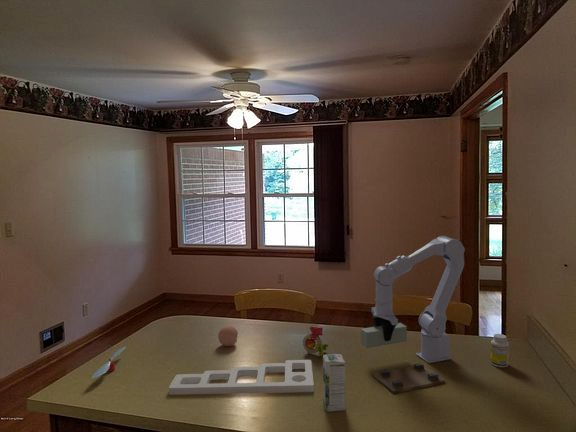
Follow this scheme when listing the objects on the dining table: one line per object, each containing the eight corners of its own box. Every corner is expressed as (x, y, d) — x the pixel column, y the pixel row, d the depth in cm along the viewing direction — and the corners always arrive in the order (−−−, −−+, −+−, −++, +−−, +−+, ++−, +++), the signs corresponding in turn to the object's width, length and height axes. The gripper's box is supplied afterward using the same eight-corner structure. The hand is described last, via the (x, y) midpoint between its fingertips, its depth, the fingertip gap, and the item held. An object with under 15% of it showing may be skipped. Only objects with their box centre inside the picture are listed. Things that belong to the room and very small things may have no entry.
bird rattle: (307, 362, 155) (329, 355, 152) (295, 335, 155) (316, 327, 153) (310, 355, 161) (332, 348, 158) (299, 329, 161) (320, 321, 159)
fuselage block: (400, 337, 154) (400, 322, 153) (406, 341, 150) (406, 326, 150) (361, 343, 149) (361, 328, 149) (366, 348, 145) (366, 332, 145)
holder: (168, 396, 130) (168, 388, 130) (183, 369, 148) (183, 362, 148) (313, 393, 130) (313, 385, 130) (311, 367, 148) (311, 359, 148)
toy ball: (242, 344, 168) (241, 325, 168) (229, 351, 162) (229, 331, 161) (227, 340, 173) (226, 321, 172) (214, 347, 166) (213, 327, 165)
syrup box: (322, 401, 124) (321, 354, 123) (342, 400, 125) (341, 353, 123) (325, 412, 118) (325, 362, 117) (346, 410, 119) (345, 361, 118)
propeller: (131, 355, 160) (130, 344, 160) (98, 388, 136) (97, 376, 135) (120, 355, 161) (120, 344, 160) (85, 388, 136) (84, 376, 135)
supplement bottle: (496, 359, 149) (496, 331, 148) (511, 365, 144) (512, 336, 143) (487, 363, 146) (487, 335, 145) (502, 369, 141) (503, 340, 140)
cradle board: (422, 366, 145) (422, 360, 144) (445, 382, 133) (445, 375, 133) (373, 376, 139) (373, 369, 139) (393, 393, 128) (393, 386, 127)
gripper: (363, 296, 154) (364, 332, 155) (384, 308, 140) (385, 347, 141) (380, 294, 156) (381, 330, 157) (403, 305, 142) (403, 344, 144)
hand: (384, 338), depth 150 cm, fingers closed on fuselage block, 4 cm apart
